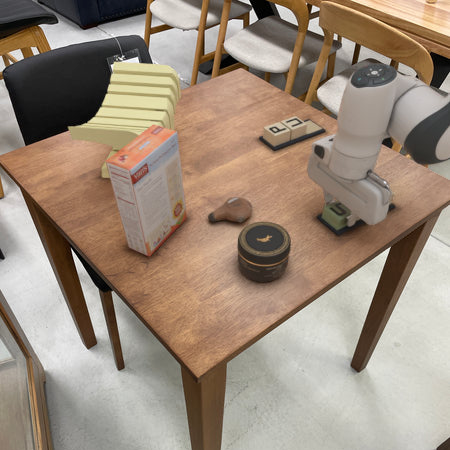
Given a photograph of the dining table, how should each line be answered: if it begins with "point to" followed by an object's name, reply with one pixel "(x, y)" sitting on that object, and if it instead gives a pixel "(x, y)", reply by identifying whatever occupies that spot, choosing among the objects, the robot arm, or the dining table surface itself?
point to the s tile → (336, 214)
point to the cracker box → (149, 188)
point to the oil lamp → (232, 210)
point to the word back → (289, 132)
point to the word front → (357, 222)
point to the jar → (263, 251)
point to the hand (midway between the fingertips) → (338, 215)
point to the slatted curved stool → (132, 106)
